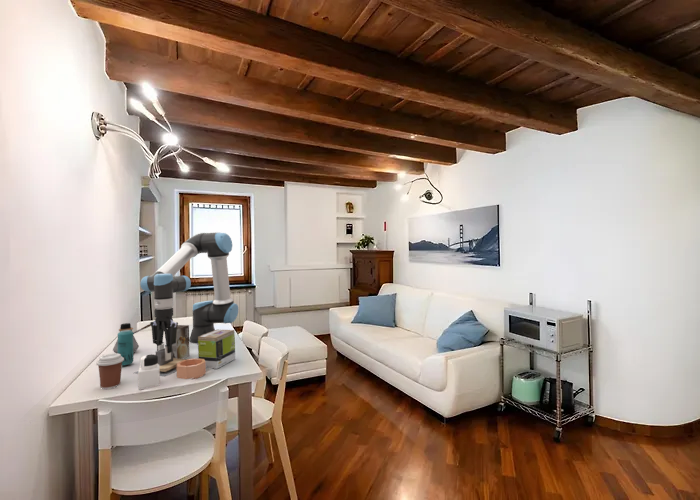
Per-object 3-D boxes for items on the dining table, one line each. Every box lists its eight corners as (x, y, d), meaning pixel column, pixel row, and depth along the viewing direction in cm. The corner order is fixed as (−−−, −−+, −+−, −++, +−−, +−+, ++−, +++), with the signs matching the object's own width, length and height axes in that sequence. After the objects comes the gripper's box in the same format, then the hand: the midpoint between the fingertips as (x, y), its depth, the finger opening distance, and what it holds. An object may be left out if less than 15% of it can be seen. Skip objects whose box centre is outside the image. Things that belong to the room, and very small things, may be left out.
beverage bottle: (119, 365, 163) (118, 322, 163) (135, 363, 165) (135, 321, 165) (115, 369, 157) (115, 325, 157) (132, 367, 159) (131, 324, 159)
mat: (163, 362, 167) (163, 360, 167) (193, 365, 162) (193, 363, 162) (132, 374, 150) (132, 373, 150) (164, 377, 146) (164, 376, 146)
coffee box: (178, 356, 176) (178, 324, 176) (189, 356, 175) (189, 325, 175) (165, 361, 167) (165, 328, 167) (177, 362, 166) (177, 329, 166)
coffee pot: (114, 357, 174) (114, 328, 174) (111, 352, 183) (111, 324, 183) (161, 349, 188) (161, 322, 188) (156, 345, 197) (156, 319, 197)
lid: (164, 359, 165) (164, 344, 164) (187, 362, 161) (186, 346, 161) (141, 369, 152) (140, 352, 152) (165, 371, 149) (165, 355, 148)
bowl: (189, 369, 156) (189, 357, 156) (210, 371, 153) (210, 359, 153) (170, 378, 145) (170, 365, 145) (192, 381, 142) (192, 367, 142)
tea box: (218, 358, 173) (218, 328, 173) (235, 359, 170) (235, 329, 170) (197, 368, 158) (197, 335, 158) (216, 369, 156) (216, 337, 156)
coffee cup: (125, 386, 137) (125, 356, 137) (97, 392, 131) (96, 361, 131) (122, 379, 144) (122, 351, 144) (95, 385, 138) (95, 355, 138)
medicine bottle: (159, 381, 142) (159, 352, 142) (159, 387, 136) (159, 356, 136) (139, 384, 139) (139, 354, 139) (138, 390, 133) (138, 359, 133)
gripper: (142, 308, 155) (143, 360, 155) (172, 310, 151) (173, 363, 151) (156, 305, 162) (156, 355, 162) (184, 307, 158) (185, 358, 158)
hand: (164, 359), depth 156 cm, fingers closed on lid, 3 cm apart
